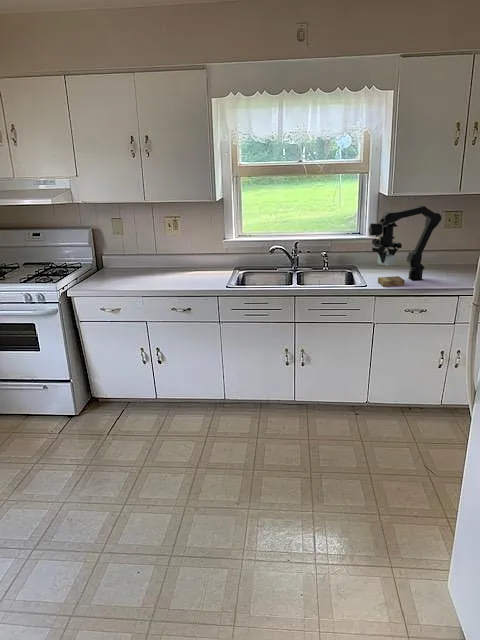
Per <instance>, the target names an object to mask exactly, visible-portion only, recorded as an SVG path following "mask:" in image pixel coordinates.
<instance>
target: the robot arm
mask: <svg viewBox="0 0 480 640" xmlns="http://www.w3.org/2000/svg"><path fill="white" fill-rule="evenodd" d="M420 214H421V215H422V216H424V217H425V223H424V225H425V226H424V229H423V230H422V233H421V235H420V237H419V239H418V242H417V243H416V246H415V248H414V250H412V252H411V251H409V252H408V255H407V257H406V263H407V264H408V266H409V271H408V279H409V280H410V281H412V282H413V281H414V282H415V281H417V282H418V281H424V279H423V272H424V269H425V266H424V265H423V264H422V263H421V262H422V256H423V252H424V250H425V248H426V245H427V244H428V242H429V240H430V237H431V235H432V233H433V231H434V230H435V228H437V226H438V225H439V224H440V222H441V221H442V216H441V213H440V212H436V211H433V210H431V209H429V208H427V206H424V205H419V206H414V207H411V208H407V209H402V210H397V211H395V210H389V211H385V212H384V213H383V214H382V217H381V219H380V220H379V221H378V222H376V223H374V222H373V223H372V222H371V223H370V224H369V227H368V234H369V236H380V237H379V238H380V239H377V238H373V239H372V241H371V244H372V245H373V246H372V248H371V251H372V252H375V253H377V255H379V256H380V259H381V262H382V263H384V260H385V257H386V254H390V255H395V254H396V253H397V251H398V250H399V249H402V243H401V242H400V241H399V242H397V241H394V239H395V236H394V228H397V227H398V224H397V223H396V222H398V221H399V220H401V219H404V218H409V217H413V216H417V215H420ZM381 235H382V236H381ZM386 250H387V251H388V253H387V251H386Z"/></svg>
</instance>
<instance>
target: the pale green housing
mask: <svg viewBox="0 0 480 640" xmlns="http://www.w3.org/2000/svg"><path fill="white" fill-rule="evenodd" d="M377 264H379V265H383V266H387V267H388V266H392V265H395V264H396V255H395V254H394V255H390V254H389V253H386V257H385V260H384V263H382V262H381V259H380V256H379V254H377Z"/></svg>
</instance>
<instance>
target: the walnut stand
mask: <svg viewBox="0 0 480 640" xmlns="http://www.w3.org/2000/svg"><path fill="white" fill-rule="evenodd" d="M405 282H406V281H405V279H403V278H402V277H400V276H399V275H396V276H382V277H381V276H380V277H379V276H378V277H377V284H379V285H381V287H383V288H384V287H400V286H405V284H406V283H405Z"/></svg>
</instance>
